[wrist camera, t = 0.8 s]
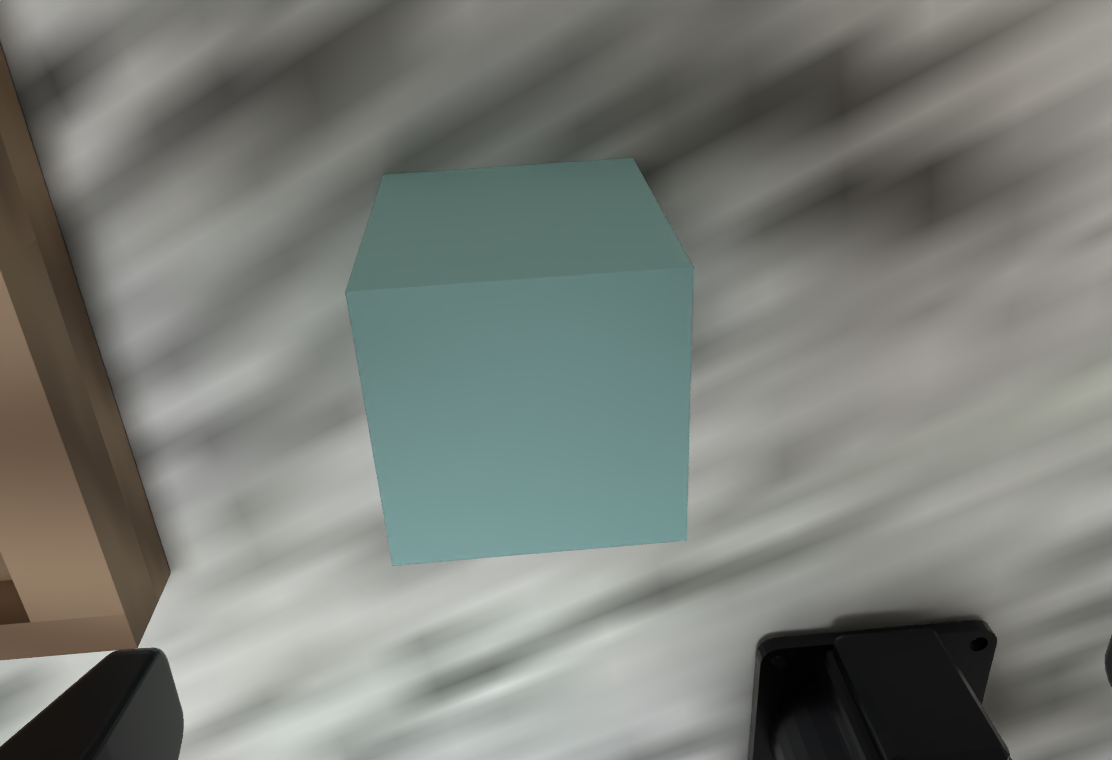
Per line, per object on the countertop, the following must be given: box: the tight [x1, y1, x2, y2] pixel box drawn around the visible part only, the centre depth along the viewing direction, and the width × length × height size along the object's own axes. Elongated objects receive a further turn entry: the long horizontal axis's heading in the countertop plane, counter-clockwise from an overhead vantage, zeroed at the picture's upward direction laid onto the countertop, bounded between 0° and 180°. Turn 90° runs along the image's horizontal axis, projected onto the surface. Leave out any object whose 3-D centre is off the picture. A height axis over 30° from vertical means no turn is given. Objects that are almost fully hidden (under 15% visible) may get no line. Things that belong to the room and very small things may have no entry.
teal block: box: [345, 158, 693, 566], centre depth 17 cm, size 5×5×6 cm
